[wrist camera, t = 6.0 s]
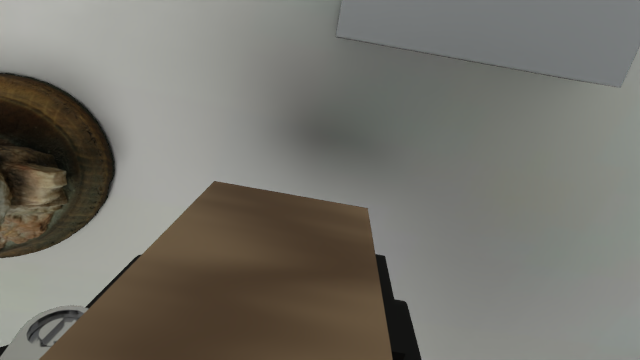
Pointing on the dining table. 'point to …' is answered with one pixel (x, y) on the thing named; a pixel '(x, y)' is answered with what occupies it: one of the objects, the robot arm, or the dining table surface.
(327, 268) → the walnut block
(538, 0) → the slate platform
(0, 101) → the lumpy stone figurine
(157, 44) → the dining table surface
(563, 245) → the dining table surface
